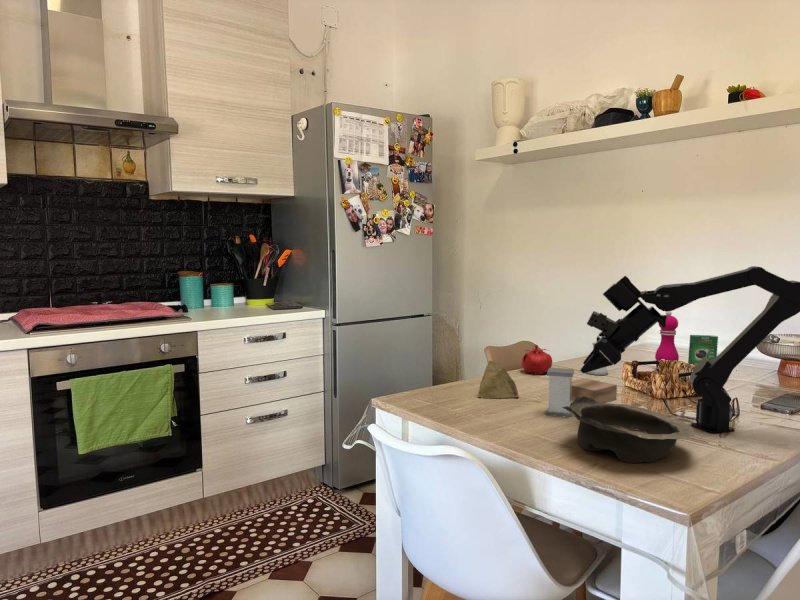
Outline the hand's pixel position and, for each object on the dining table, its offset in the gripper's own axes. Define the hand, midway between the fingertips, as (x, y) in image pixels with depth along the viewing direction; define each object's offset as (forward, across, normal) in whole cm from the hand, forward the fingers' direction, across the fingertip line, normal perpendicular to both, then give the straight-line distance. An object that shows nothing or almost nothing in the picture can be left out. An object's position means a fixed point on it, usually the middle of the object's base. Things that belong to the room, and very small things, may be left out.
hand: (583, 367), depth 145 cm
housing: (+12, 0, +5) cm, 13 cm away
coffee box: (-15, -60, +32) cm, 69 cm away
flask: (+8, -52, +9) cm, 53 cm away
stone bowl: (+1, +22, +16) cm, 27 cm away
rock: (+25, -11, -7) cm, 28 cm away
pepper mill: (-8, -65, +24) cm, 70 cm away
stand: (+8, -18, +9) cm, 21 cm away
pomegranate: (+21, -46, -4) cm, 51 cm away
